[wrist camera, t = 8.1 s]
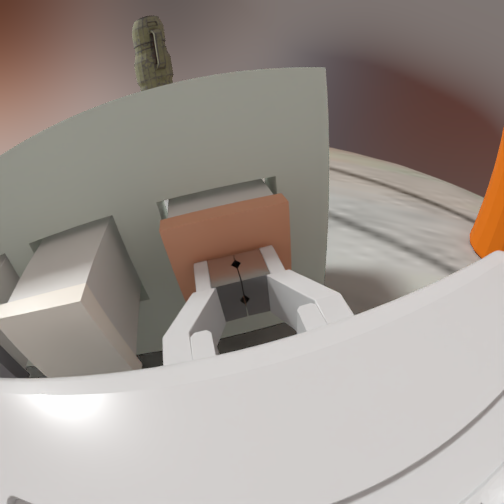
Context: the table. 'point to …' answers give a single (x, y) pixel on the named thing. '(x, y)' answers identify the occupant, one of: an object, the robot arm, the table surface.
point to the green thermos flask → (151, 53)
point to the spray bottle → (491, 213)
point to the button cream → (77, 304)
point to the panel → (175, 174)
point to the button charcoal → (3, 350)
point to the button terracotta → (224, 227)
